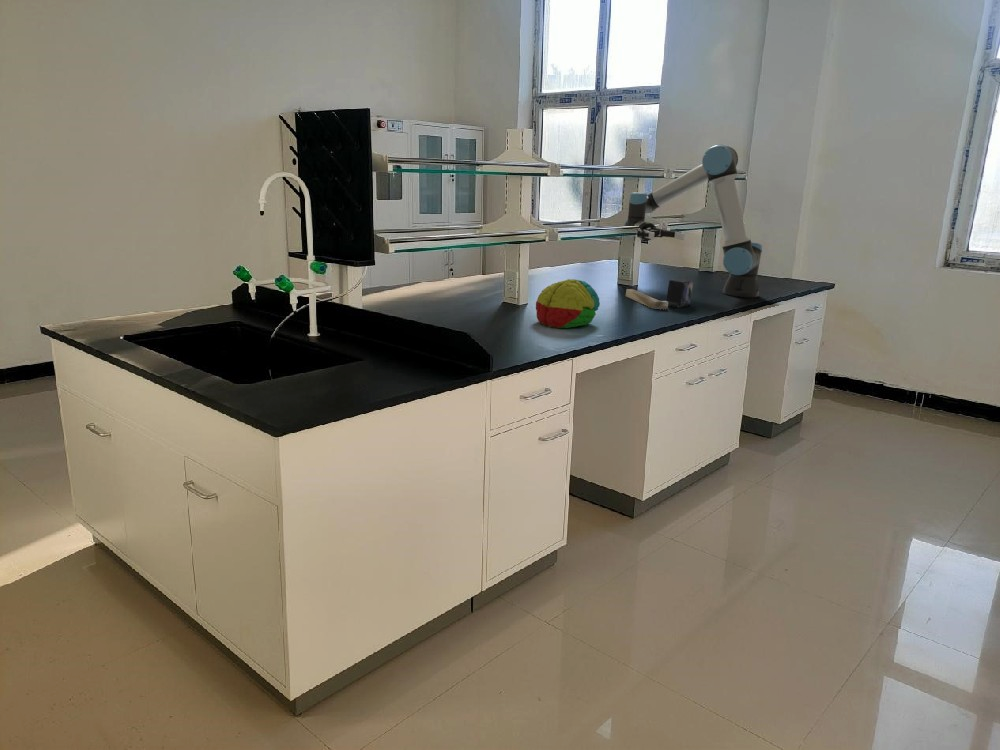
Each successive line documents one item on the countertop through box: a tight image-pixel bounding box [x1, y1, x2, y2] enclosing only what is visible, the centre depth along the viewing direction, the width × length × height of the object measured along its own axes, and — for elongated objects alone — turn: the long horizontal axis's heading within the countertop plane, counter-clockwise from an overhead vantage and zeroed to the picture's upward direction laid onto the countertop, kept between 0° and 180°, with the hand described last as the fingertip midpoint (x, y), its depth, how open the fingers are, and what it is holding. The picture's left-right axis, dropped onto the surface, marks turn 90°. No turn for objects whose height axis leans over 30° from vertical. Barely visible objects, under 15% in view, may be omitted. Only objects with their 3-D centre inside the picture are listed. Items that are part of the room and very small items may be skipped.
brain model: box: [535, 278, 601, 329], centre depth 242 cm, size 24×19×15 cm
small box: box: [665, 276, 695, 309], centre depth 285 cm, size 11×6×10 cm, turn 143°
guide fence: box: [625, 288, 669, 311], centre depth 287 cm, size 6×26×3 cm, turn 15°
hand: (668, 236), depth 294 cm, fingers open, 13 cm apart
